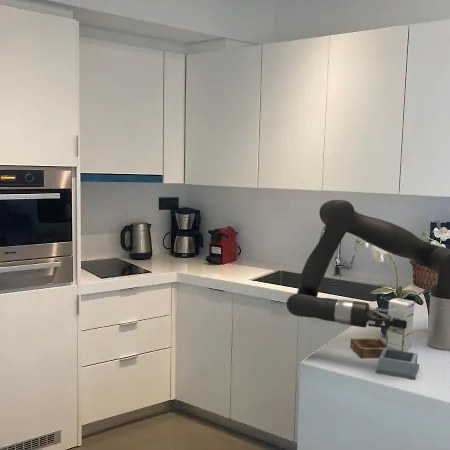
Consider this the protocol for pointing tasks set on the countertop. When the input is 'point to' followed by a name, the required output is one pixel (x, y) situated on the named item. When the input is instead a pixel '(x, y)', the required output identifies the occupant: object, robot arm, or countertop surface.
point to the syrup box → (399, 336)
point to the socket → (398, 363)
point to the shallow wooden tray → (368, 347)
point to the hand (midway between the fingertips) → (408, 321)
